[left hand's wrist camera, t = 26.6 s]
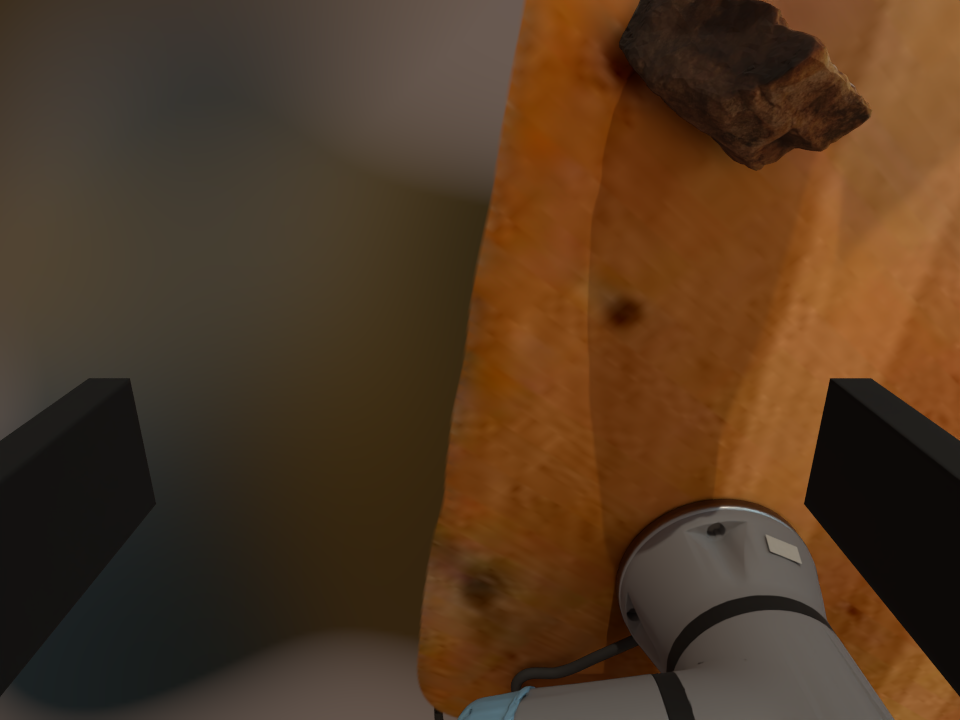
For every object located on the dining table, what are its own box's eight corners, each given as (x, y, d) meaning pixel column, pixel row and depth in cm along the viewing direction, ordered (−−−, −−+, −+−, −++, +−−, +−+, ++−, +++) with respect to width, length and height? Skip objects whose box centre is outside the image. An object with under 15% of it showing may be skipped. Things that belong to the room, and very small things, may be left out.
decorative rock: (806, 103, 40) (915, 103, 30) (734, 183, 42) (815, 208, 32) (664, -36, 38) (731, -87, 28) (593, 56, 39) (632, 40, 29)
